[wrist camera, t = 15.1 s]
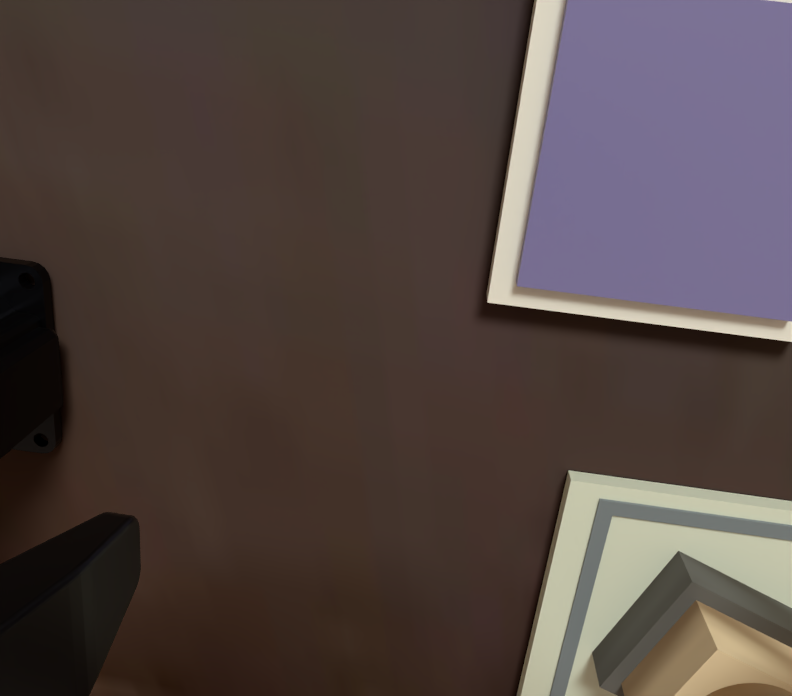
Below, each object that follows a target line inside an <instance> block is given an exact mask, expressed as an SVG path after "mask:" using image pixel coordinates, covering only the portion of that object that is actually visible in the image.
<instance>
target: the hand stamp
mask: <svg viewBox="0 0 792 696" xmlns="http://www.w3.org/2000/svg"><path fill="white" fill-rule="evenodd" d="M592 655H593V660H594V664H595V669H596V673H597V678H598V682H599V687H600V688H602V689H604V690H607V691H609V692H611V693H613V694H615V695H617V696H792V608H791V607H789V606H787V605H785V604H783V603H781V602H779V601H777V600H775V599H773V598H771V597H769V596H767V595H765V594H763V593H761V592H759V591H757V590H755V589H753V588H751V587H749V586H747V585H745V584H743V583H741V582H739V581H737V580H735V579H733V578H731V577H729V576H727V575H725V574H723V573H721V572H720V571H718V570H716V569H714V568H712V567H710V566H708V565H706V564H704V563H702V562H700V561H698V560H696V559H694V558H692V557H690V556H688V555H686V554H684V553H682V552H680V551H678V552H677V553H676V554H675V555H674V557H673V558H672V559H671V560H670V561H669V562H668V564H667V565H666V566H665V567H664V568H663V569H662V571H661V572H660V573H659V574H658V575H657V577H656V578H655V579H654V580H653V581H652V582H651V584H650V585H649V586H648V587H647V588H646V589H645V591H644V592H643V593H642V594H641V595H640V596H639V598H638V599H637V600H636V601H635V602H634V604H633V605H632V606H631V607H630V608H629V609H628V611H627V612H626V613H625V614H624V615H623V616H622V618H621V619H620V620H619V621H618V622H617V624H616V625H615V626H614V627H613V628H612V629H611V631H610V632H609V633H608V634H607V635H606V636H605V638H604V639H603V640H602V641H601V642H600V644H599V645H598V646H597V647H596V648H595V649H594V651H593V652H592Z"/></svg>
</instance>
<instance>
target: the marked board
mask: <svg viewBox="0 0 792 696" xmlns="http://www.w3.org/2000/svg"><path fill="white" fill-rule="evenodd" d="M678 551H680V552H682V553H684V554H686V555H688V556H690V557H692V558H694V559H696V560H698V561H700V562H702V563H704V564H706V565H708V566H710V567H712V568H714V569H716V570H718V571H720V572H721V573H723V574H725V575H727V576H729V577H731V578H733V579H735V580H737V581H739V582H741V583H743V584H745V585H747V586H749V587H751V588H753V589H755V590H757V591H759V592H761V593H763V594H765V595H767V596H769V597H771V598H773V599H775V600H777V601H779V602H781V603H783V604H785V605H787V606H789V607H791V608H792V501H786V500H779V499H772V498H764V497H757V496H750V495H743V494H735V493H728V492H721V491H714V490H707V489H699V488H692V487H685V486H678V485H670V484H663V483H656V482H649V481H641V480H634V479H627V478H620V477H612V476H605V475H598V474H591V473H584V472H576V471H569V470H568V474H567V478H566V483H565V487H564V491H563V496H562V500H561V504H560V509H559V513H558V517H557V522H556V526H555V530H554V535H553V539H552V544H551V548H550V552H549V557H548V561H547V565H546V570H545V574H544V578H543V583H542V587H541V591H540V596H539V600H538V604H537V609H536V613H535V617H534V622H533V626H532V631H531V635H530V639H529V644H528V648H527V652H526V657H525V661H524V665H523V670H522V674H521V678H520V683H519V687H518V691H517V696H617V695H615V694H613V693H611V692H609V691H607V690H604V689H602V688H600V687H599V682H598V678H597V673H596V669H595V664H594V660H593V655H592V652H593V651H594V649H595V648H596V647H597V646H598V645H599V644H600V642H601V641H602V640H603V639H604V638H605V636H606V635H607V634H608V633H609V632H610V631H611V629H612V628H613V627H614V626H615V625H616V624H617V622H618V621H619V620H620V619H621V618H622V616H623V615H624V614H625V613H626V612H627V611H628V609H629V608H630V607H631V606H632V605H633V604H634V602H635V601H636V600H637V599H638V598H639V596H640V595H641V594H642V593H643V592H644V591H645V589H646V588H647V587H648V586H649V585H650V584H651V582H652V581H653V580H654V579H655V578H656V577H657V575H658V574H659V573H660V572H661V571H662V569H663V568H664V567H665V566H666V565H667V564H668V562H669V561H670V560H671V559H672V558H673V557H674V555H675V554H676V553H677V552H678Z"/></svg>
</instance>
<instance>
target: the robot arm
mask: <svg viewBox="0 0 792 696" xmlns="http://www.w3.org/2000/svg"><path fill="white" fill-rule="evenodd" d="M26 273H28V274H30V275H31V276H32V277H33V278H34V280H35V285H32V284H30V283H29V282H28V281H27V278H26ZM62 405H63V394H62V381H61V367H60V354H59V341H58V336H57V334H56V333H55V331H54V326H53V314H52V301H51V288H50V278H49V274H48V272H47V271H46V269H45V268H44V267H43V266H41V265H40V264H39V263H36V262H32V261H25V260H17V259H9V258H2V257H0V458H2V457H3V456H4V455H5V454H6V453H7V452H9V451H10V450H11V449H16V450H23V451H30V452H37V453H49V452H51V451H53V450H54V449H55V448H56V447H57V446H58V445H59V444H60V442H61V440H62V430H61V417H60V407H61V406H62ZM40 433H41V434H44V435H45V436H46V437H47V438H48V441H46V440H44V439H43V438H42V437H41V435H40ZM140 570H141V563H140V530H139V523H138V520H137V519H136V518H135V517H134V516H132V515H125V514H118V513H112V512H105V513H102V514H100V515H98V516H96V517H94V518H92V519H90V520H88V521H86V522H84V523H82V524H80V525H78V526H76V527H74V528H72V529H70V530H68V531H66V532H64V533H62V534H60V535H58V536H56V537H54V538H52V539H50V540H48V541H46V542H44V543H42V544H40V545H38V546H36V547H34V548H32V549H30V550H28V551H26V552H24V553H22V554H20V555H18V556H16V557H14V558H12V559H10V560H8V561H6V562H4V563H2V564H0V696H89V695H90V693H91V690H92V688H93V686H94V684H95V682H96V679H97V677H98V675H99V673H100V670H101V668H102V666H103V663H104V661H105V659H106V656H107V654H108V652H109V650H110V647H111V645H112V643H113V640H114V638H115V636H116V633H117V631H118V629H119V626H120V624H121V622H122V619H123V617H124V615H125V612H126V610H127V608H128V606H129V603H130V601H131V599H132V596H133V594H134V592H135V589H136V587H137V584H138V581H139V576H140Z"/></svg>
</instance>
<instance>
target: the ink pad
mask: <svg viewBox="0 0 792 696" xmlns="http://www.w3.org/2000/svg"><path fill="white" fill-rule="evenodd" d="M486 295H487V303H495V304H502V305H510V306H518V307H526V308H533V309H541V310H549V311H557V312H564V313H572V314H580V315H587V316H595V317H603V318H611V319H618V320H626V321H634V322H642V323H649V324H657V325H665V326H672V327H680V328H688V329H696V330H703V331H711V332H719V333H727V334H734V335H742V336H750V337H757V338H765V339H773V340H781V341H788V342H792V0H534V4H533V11H532V17H531V23H530V29H529V35H528V41H527V47H526V54H525V60H524V66H523V72H522V78H521V84H520V91H519V97H518V103H517V109H516V115H515V121H514V127H513V134H512V140H511V146H510V152H509V158H508V164H507V171H506V177H505V183H504V189H503V195H502V201H501V207H500V214H499V220H498V226H497V232H496V238H495V244H494V251H493V257H492V263H491V269H490V275H489V281H488V287H487V294H486Z"/></svg>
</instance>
